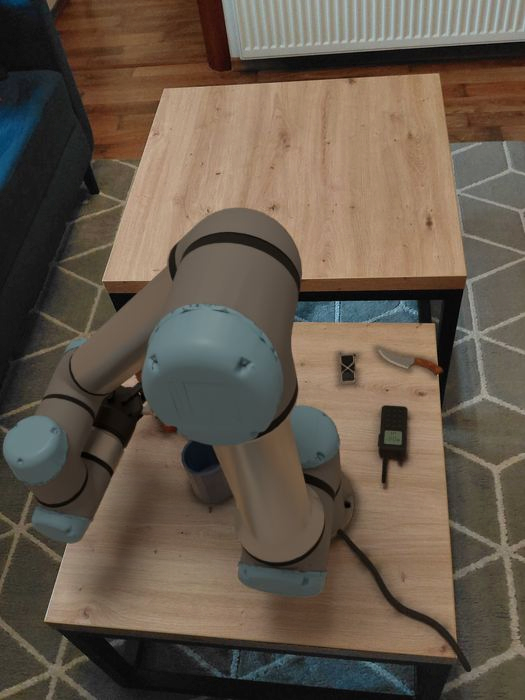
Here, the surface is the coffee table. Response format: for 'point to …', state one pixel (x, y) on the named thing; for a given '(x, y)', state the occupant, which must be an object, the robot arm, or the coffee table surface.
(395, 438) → the walkie-talkie
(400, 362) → the knife
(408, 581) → the coffee table surface
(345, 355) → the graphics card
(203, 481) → the blue cup
